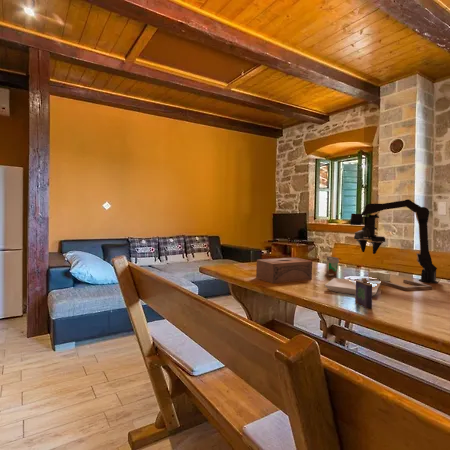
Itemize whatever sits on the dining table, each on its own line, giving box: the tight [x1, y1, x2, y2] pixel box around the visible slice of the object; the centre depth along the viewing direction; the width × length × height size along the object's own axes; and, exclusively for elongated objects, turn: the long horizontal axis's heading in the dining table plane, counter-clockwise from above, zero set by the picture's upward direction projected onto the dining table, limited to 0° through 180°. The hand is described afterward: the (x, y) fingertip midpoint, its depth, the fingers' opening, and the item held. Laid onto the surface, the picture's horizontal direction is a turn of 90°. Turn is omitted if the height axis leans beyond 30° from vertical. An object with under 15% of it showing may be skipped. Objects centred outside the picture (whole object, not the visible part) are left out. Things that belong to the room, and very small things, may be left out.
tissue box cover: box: [255, 257, 313, 284], centre depth 170 cm, size 26×14×10 cm, turn 118°
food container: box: [325, 256, 340, 278], centre depth 182 cm, size 12×6×10 cm, turn 168°
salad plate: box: [324, 277, 381, 297], centre depth 147 cm, size 21×21×3 cm
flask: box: [354, 277, 373, 310], centre depth 122 cm, size 9×3×11 cm, turn 8°
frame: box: [380, 279, 433, 292], centre depth 158 cm, size 16×16×2 cm
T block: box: [368, 270, 391, 282], centre depth 173 cm, size 10×8×4 cm
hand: (368, 253), depth 183 cm, fingers open, 8 cm apart
